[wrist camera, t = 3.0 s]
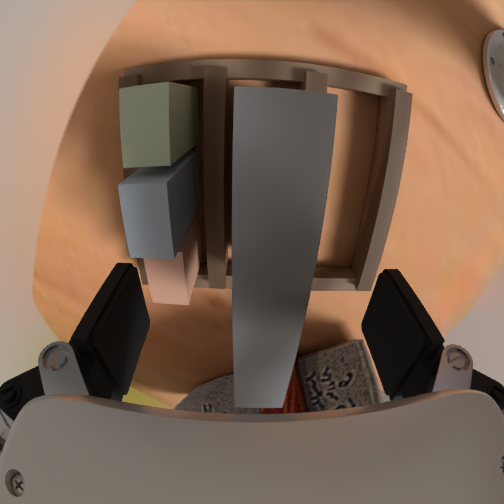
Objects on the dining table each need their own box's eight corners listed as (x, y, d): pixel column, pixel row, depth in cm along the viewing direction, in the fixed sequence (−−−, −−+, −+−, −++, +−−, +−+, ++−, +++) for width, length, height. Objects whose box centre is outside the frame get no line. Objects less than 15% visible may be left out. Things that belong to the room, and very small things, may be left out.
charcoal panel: (279, 99, 19) (338, 94, 6) (269, 251, 27) (282, 407, 13) (247, 97, 19) (234, 86, 6) (243, 250, 27) (234, 407, 13)
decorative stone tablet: (391, 480, 14) (144, 481, 25) (396, 483, 17) (177, 492, 27) (362, 322, 31) (174, 374, 41) (373, 349, 33) (198, 393, 44)
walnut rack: (395, 85, 18) (412, 85, 15) (359, 279, 28) (368, 296, 26) (134, 70, 18) (119, 68, 15) (152, 272, 28) (144, 290, 25)
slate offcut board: (197, 151, 22) (166, 182, 14) (199, 204, 24) (174, 259, 16) (163, 152, 22) (117, 184, 14) (167, 204, 24) (130, 257, 16)
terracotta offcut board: (199, 211, 25) (182, 252, 19) (202, 257, 27) (188, 305, 21) (167, 211, 24) (141, 250, 18) (172, 256, 27) (152, 302, 21)
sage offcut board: (197, 87, 19) (168, 81, 12) (197, 143, 21) (170, 165, 14) (161, 90, 19) (118, 88, 12) (163, 144, 21) (123, 168, 14)
